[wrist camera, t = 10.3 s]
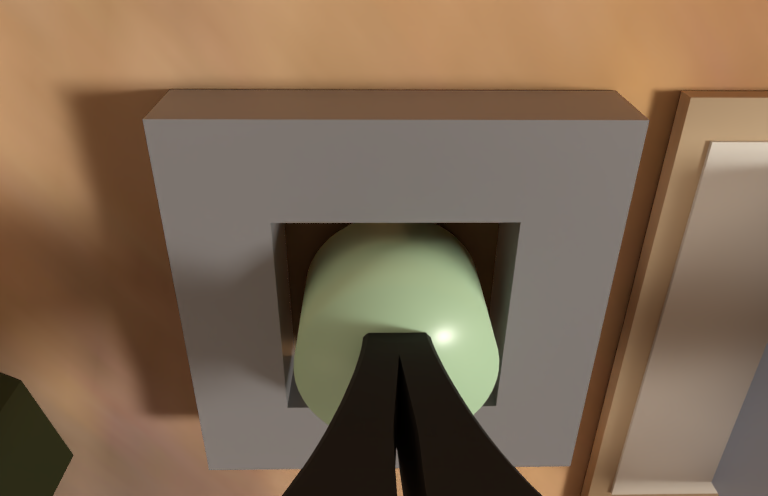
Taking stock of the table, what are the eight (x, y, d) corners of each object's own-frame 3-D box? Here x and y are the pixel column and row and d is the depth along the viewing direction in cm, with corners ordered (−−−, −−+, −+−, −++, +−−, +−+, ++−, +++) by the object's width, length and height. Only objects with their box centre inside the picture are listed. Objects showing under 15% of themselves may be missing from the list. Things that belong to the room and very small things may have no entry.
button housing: (552, 413, 19) (570, 466, 18) (223, 416, 19) (209, 470, 18) (615, 90, 14) (649, 119, 13) (170, 89, 14) (142, 119, 12)
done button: (471, 357, 17) (489, 442, 15) (310, 358, 17) (299, 443, 15) (486, 214, 15) (509, 284, 13) (300, 215, 15) (286, 285, 12)
